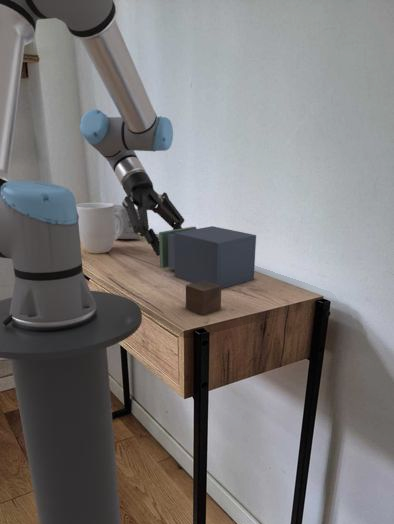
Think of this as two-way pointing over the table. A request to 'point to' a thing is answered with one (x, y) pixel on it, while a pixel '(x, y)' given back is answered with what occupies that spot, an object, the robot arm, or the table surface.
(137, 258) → the table surface
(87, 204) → the mug
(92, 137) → the robot arm
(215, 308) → the block
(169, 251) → the drawer
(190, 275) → the cabinet
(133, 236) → the incense holder
